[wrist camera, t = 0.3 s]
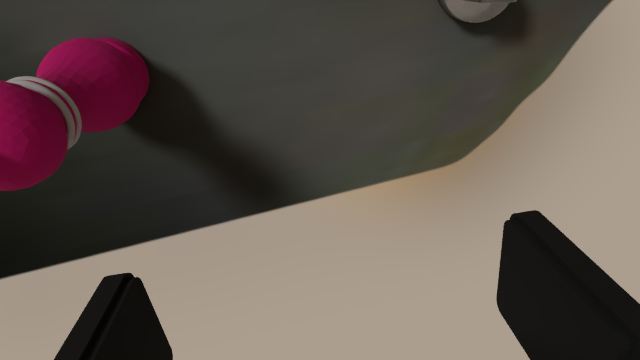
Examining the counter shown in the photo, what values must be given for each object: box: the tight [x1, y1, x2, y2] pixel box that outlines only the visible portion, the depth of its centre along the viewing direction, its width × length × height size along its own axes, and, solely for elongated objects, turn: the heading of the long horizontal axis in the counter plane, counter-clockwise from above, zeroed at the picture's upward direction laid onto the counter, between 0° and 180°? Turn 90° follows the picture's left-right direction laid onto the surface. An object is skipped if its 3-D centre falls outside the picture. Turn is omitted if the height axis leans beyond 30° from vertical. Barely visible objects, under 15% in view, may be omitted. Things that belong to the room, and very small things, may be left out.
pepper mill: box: [0, 37, 149, 191], centre depth 27 cm, size 7×7×20 cm
